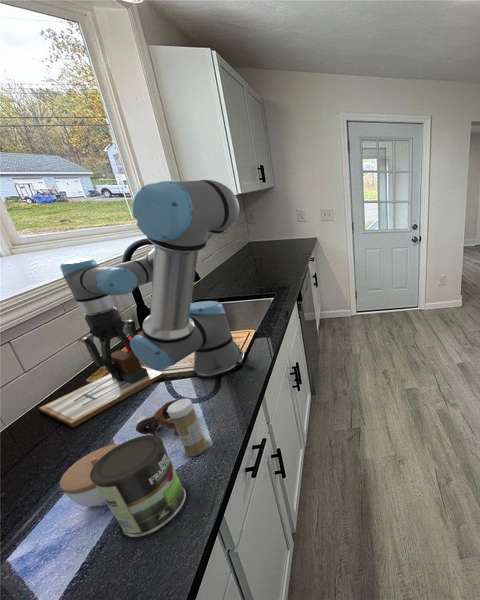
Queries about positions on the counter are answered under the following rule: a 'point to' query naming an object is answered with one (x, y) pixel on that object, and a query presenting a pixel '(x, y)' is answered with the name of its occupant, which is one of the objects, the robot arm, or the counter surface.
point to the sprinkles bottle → (187, 427)
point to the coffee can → (139, 485)
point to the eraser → (128, 366)
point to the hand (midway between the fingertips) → (130, 374)
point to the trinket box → (84, 480)
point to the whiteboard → (95, 398)
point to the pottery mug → (157, 421)
